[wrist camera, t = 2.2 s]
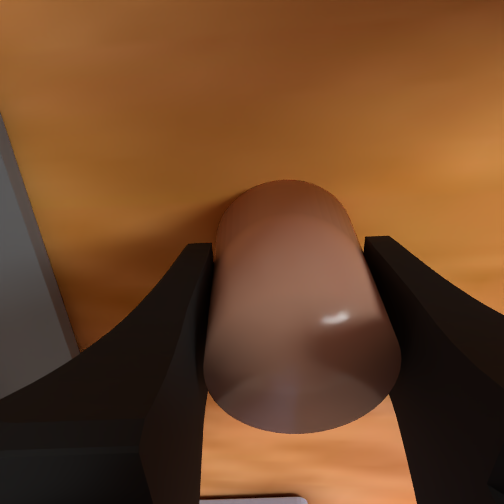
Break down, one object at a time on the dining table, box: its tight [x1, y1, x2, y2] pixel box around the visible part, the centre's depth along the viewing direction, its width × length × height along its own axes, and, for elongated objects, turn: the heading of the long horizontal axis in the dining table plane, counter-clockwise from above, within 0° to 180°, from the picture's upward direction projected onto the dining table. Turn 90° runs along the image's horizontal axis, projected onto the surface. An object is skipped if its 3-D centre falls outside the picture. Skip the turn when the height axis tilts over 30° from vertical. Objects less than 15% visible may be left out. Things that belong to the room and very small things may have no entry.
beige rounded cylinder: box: [203, 180, 401, 434], centre depth 12 cm, size 4×4×5 cm
